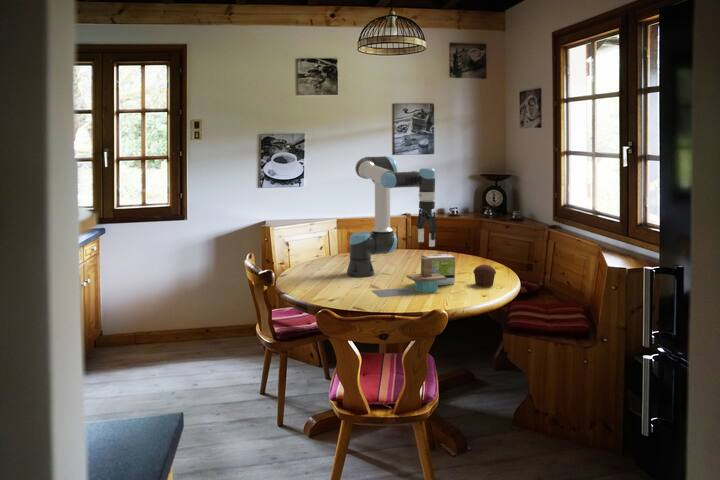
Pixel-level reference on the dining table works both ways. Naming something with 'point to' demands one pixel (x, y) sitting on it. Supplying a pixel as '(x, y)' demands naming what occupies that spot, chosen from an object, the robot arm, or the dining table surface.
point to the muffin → (484, 275)
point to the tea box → (443, 267)
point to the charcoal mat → (394, 292)
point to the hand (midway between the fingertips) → (426, 244)
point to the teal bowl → (426, 286)
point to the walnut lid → (426, 272)
